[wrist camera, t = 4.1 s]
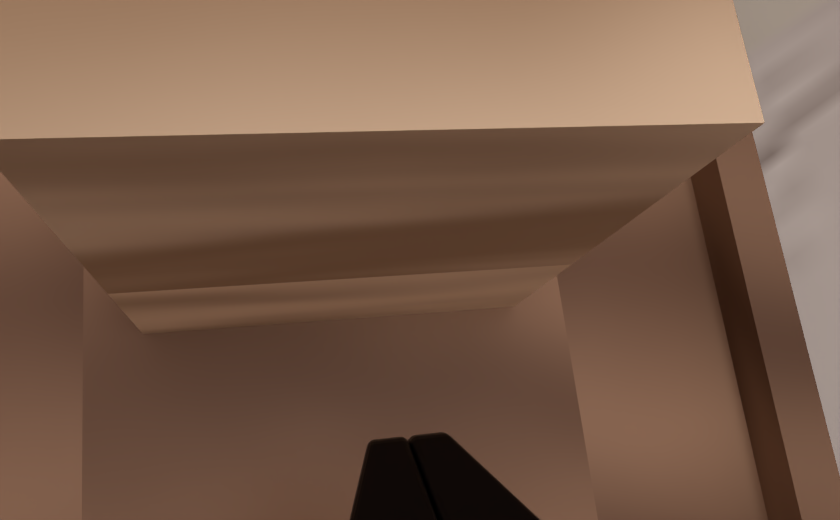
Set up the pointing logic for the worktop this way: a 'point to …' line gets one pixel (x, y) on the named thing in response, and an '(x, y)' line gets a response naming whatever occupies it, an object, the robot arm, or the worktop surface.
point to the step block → (355, 144)
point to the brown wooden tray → (434, 385)
